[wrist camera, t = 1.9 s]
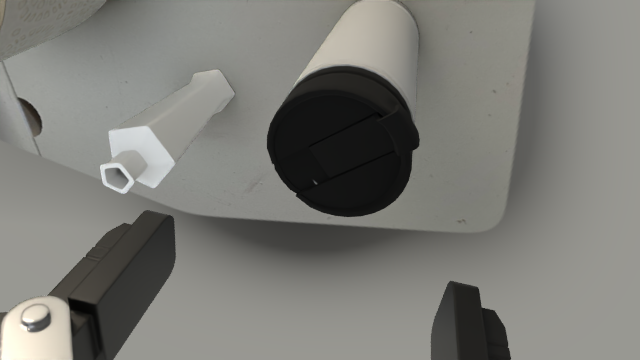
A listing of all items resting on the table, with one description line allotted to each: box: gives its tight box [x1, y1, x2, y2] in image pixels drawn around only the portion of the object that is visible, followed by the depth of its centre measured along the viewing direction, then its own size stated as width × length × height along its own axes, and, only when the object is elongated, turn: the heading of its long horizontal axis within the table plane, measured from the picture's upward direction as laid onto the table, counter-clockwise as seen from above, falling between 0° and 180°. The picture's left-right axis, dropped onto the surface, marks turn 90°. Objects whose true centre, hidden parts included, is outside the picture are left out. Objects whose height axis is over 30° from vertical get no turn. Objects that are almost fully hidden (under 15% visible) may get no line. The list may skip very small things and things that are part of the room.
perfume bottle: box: [100, 70, 235, 194], centre depth 34 cm, size 5×4×15 cm
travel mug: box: [267, 0, 420, 217], centre depth 27 cm, size 6×7×20 cm
